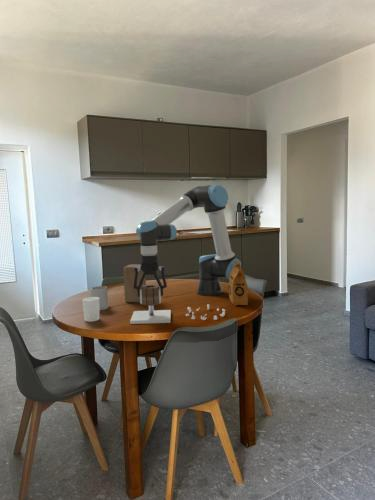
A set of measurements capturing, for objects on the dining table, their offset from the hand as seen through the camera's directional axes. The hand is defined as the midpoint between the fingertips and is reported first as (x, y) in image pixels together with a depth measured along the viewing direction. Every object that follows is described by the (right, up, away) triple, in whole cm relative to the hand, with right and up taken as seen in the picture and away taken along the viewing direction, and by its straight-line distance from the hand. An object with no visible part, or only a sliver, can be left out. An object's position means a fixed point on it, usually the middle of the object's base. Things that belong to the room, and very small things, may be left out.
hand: (150, 302), depth 174 cm
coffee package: (+44, -4, +24) cm, 51 cm away
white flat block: (0, -7, +1) cm, 7 cm away
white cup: (-28, -8, +1) cm, 29 cm away
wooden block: (-12, -4, +36) cm, 38 cm away
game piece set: (+26, -7, +5) cm, 27 cm away
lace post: (0, -6, +1) cm, 6 cm away
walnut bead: (0, 0, 0) cm, 0 cm away
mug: (-29, -6, +23) cm, 37 cm away
